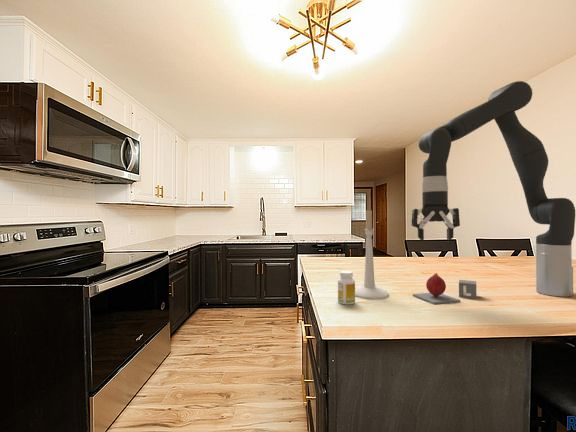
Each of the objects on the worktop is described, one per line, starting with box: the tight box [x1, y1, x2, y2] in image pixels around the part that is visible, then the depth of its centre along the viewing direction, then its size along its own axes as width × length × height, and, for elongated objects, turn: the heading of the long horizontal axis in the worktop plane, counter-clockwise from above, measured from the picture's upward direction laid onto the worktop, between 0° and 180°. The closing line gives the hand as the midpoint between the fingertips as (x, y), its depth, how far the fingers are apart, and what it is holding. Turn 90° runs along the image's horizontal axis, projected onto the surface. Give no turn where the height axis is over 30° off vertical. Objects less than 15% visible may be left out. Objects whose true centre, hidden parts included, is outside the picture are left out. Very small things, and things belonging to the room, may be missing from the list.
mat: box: [412, 292, 461, 305], centre depth 98 cm, size 10×10×1 cm
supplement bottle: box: [337, 270, 356, 305], centre depth 94 cm, size 5×5×10 cm
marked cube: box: [458, 279, 477, 300], centre depth 100 cm, size 5×5×5 cm
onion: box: [425, 272, 447, 297], centre depth 98 cm, size 6×6×8 cm
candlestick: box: [355, 209, 390, 300], centre depth 104 cm, size 13×13×30 cm
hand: (435, 239), depth 98 cm, fingers open, 8 cm apart
